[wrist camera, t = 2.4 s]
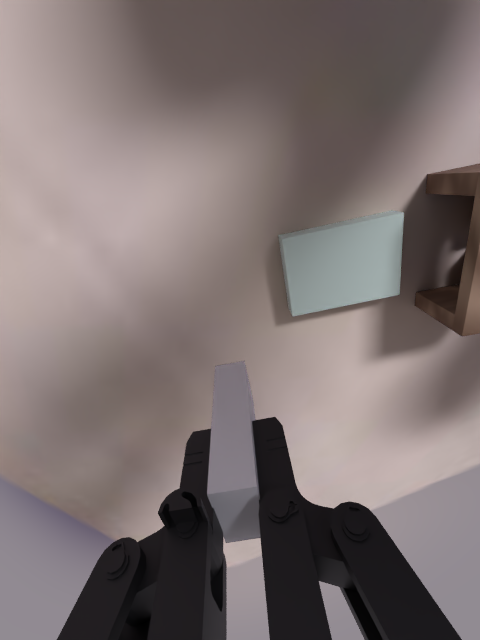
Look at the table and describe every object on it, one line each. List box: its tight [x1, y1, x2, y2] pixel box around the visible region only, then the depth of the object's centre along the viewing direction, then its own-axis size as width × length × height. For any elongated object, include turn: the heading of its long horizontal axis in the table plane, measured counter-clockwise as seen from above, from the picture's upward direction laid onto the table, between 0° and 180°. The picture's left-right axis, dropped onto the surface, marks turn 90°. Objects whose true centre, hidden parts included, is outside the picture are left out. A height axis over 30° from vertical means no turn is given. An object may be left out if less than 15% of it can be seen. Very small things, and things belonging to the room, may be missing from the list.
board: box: [278, 210, 404, 317], centre depth 28 cm, size 8×11×2 cm
